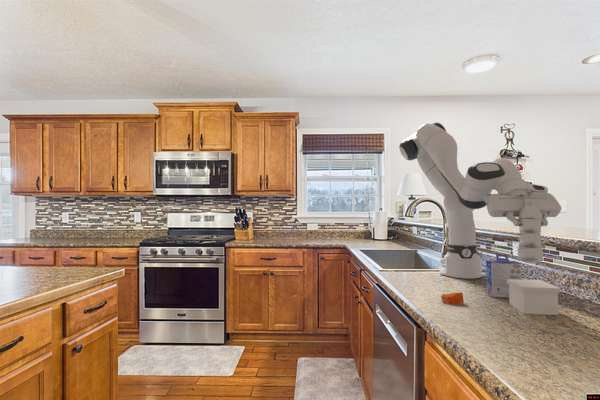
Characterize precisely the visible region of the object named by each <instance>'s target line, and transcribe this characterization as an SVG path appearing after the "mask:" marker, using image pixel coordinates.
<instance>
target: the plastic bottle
mask: <svg viewBox="0 0 600 400" xmlns="http://www.w3.org/2000/svg"><path fill="white" fill-rule="evenodd" d="M522 204H523V207H522V208H521V209H520V211H519V212H518V217H517V219H519V220H520V221H521V222H522V224H521V226H518V227H519V228H518V229H519V243H518V248H517V258H518V259H519V260H520V261H521V262H524V263H528V264H536V263H541V262H543V260H544V251H543V247H542V238H541V237H542V236H541V232H542V226H541V225H542V218H543V215H542V212H541V211H540V210H539V209H538V208H537V206H536V204H537V198H523V203H522Z"/></svg>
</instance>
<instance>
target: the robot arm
mask: <svg viewBox="0 0 600 400" xmlns="http://www.w3.org/2000/svg"><path fill="white" fill-rule="evenodd" d="M398 147H399V152H400V154H401V156H402V158H403V157H404V159H405V160H407V161H415V160H417V164H418V165H419V167H420V169H421V171H422V172H423V174H424V175H425V176H426V178H427V179H428V181H429V182H430V183H431V185H432V186H433V187H434V189H435V190H437V192H439V194H441V196H442V197H443V198H444V199H443V205H444V208H445V209H444V210H445V211H444V212H445V217H446V222H447V231H448V238H447V239H448V243H447V245H446V249H447V250H446V251H447V252H446V254H445V256H444V257H443V258H441V259H440V264H441V265H442V266H439V267H438V270H439V275H441V276H447V277H452V278H457V279H480V278H481V277H482V278H483V277H486V273H484V272H483V271H482V260H481V257H480V256H479V255H478V254H477V253H478V245H477V241H476V239H477V238H476V236H477V235H476V234H477V233H476V230H477V229H476V224H475V220H474V213H473V211H475V210H480V209H482V208H484V207H485V208H486V209H487V213H488V215H489V216H490V217H491V218H506V219H507V220H508V221H510V222H511V223H513V226H514V227H519V226H521V224H522V222H521V221H520V220H519V219H518V212H519V211H520V209H521V208H522V207H523V204H522V203H523V198H537V204H536V206H537V208H538V209H539V210H540V211H541V212H542V215H543V218H542V225H541V227H547V226H548V225H549V221H548V220H547V218H556V217H557V216H559V214H560V213H561V211H562V206H561V204H560V203H559V201H558V199H557V198H556V197H555V196H554V195H553V194H551V193H550V192H549V189H548V187H547V186H544V185H538V184H533V183H530V182H527V181H525V179H524V178H523V176H522V173H521V171H520V169H519V168H518V167H517V166H516V165H515V164H514V162H512V161H511V160H509V159H507V158H503V157H501V158H496V159H493V160H491V161H490V162H488V161H486V162H477V163H475V164H472V165H471V166H469V167H468V168H467V171H466V174H465V176H464V175H463V174H462V172H461V171H460V170H459V166H458V144H457V141H456V140H455V139H454V136H452V135H451V134H449V132H447V130H446V128H445V126H444V124H441V123H440V122H437V121H436V122H433V123H425V124H422V125H420V127H419V128H418V129H417V130H416V132H414V133H413V134H411V135H410V136H408V137H407V138H405V139H404V140H402V141H401V142H400V143H399V146H398ZM492 191H496V192H497V193H492Z"/></svg>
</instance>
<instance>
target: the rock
mask: <svg viewBox="0 0 600 400" xmlns="http://www.w3.org/2000/svg"><path fill="white" fill-rule="evenodd" d="M440 298H441V300H442V301H443V303H445V304H447V305H460V306H462V305H463V304H464V294H463V292H462V291H460V292H452V293H441V295H440Z"/></svg>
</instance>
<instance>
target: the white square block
mask: <svg viewBox="0 0 600 400" xmlns="http://www.w3.org/2000/svg"><path fill="white" fill-rule="evenodd" d="M507 283H508V284H509V298H508V299H509V305H510V306H512V307H513V308H515V309H516V310H518V311H519V312H521V313H522V314H523V315H524V314H525V315H542V316H543V315H545V316H546V315H547V316H559V293H561V291H562V290H561V287H558V286H555V285H554V284H552V283H549V282H546V281H544V280H542V279H522V280H520V279H507Z"/></svg>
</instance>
